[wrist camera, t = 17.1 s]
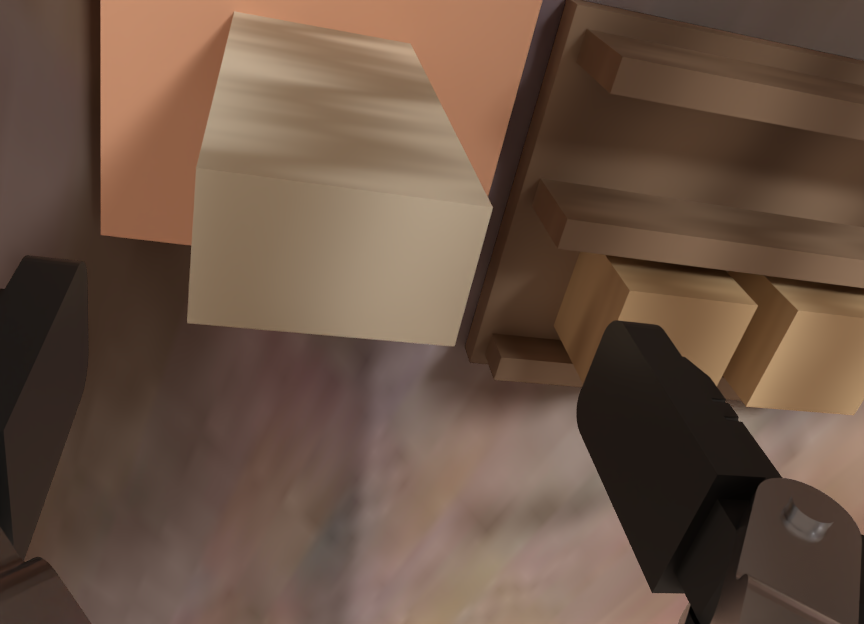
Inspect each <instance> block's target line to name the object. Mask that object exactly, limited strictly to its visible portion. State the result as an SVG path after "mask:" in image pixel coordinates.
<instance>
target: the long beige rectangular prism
mask: <svg viewBox="0 0 864 624" xmlns="http://www.w3.org/2000/svg"><path fill="white" fill-rule="evenodd" d="M492 209H493V207H492V205H491V203H490V201H489V199H488V197H487V195H486V193H485V191H484V189H483V187H482V185H481V183H480V181H479V179H478V177H477V175H476V173H475V171H474V169H473V167H472V165H471V163H470V161H469V159H468V157H467V155H466V153H465V151H464V149H463V147H462V145H461V143H460V141H459V139H458V137H457V135H456V133H455V131H454V129H453V127H452V125H451V123H450V121H449V119H448V117H447V115H446V113H445V111H444V109H443V107H442V105H441V103H440V101H439V99H438V97H437V95H436V93H435V91H434V89H433V87H432V85H431V83H430V81H429V79H428V77H427V75H426V73H425V71H424V69H423V67H422V65H421V63H420V61H419V59H418V57H417V55H416V53H415V51H414V49H413V47H412V45H411V44H410V43H404V42H399V41H393V40H388V39H383V38H377V37H372V36H366V35H361V34H355V33H350V32H344V31H339V30H333V29H328V28H322V27H317V26H312V25H306V24H301V23H295V22H290V21H284V20H279V19H273V18H268V17H262V16H257V15H251V14H246V13H241V12H235V11H234V15H233V19H232V23H231V27H230V31H229V35H228V39H227V43H226V48H225V52H224V56H223V60H222V64H221V68H220V72H219V76H218V80H217V84H216V88H215V93H214V97H213V101H212V105H211V109H210V113H209V117H208V121H207V125H206V129H205V134H204V138H203V142H202V146H201V150H200V154H199V158H198V162H197V166H196V179H195V195H194V212H193V229H192V246H191V262H190V279H189V296H188V313H187V323H191V324H203V325H214V326H226V327H237V328H249V329H260V330H271V331H283V332H294V333H306V334H317V335H329V336H340V337H351V338H363V339H374V340H386V341H397V342H409V343H420V344H431V345H443V346H455V343H456V339H457V336H458V332H459V328H460V325H461V321H462V317H463V314H464V310H465V307H466V303H467V299H468V296H469V292H470V289H471V285H472V281H473V278H474V274H475V271H476V267H477V263H478V260H479V256H480V252H481V249H482V245H483V242H484V238H485V234H486V231H487V227H488V224H489V220H490V216H491V213H492Z"/></svg>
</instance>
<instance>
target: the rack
mask: <svg viewBox="0 0 864 624" xmlns="http://www.w3.org/2000/svg"><path fill="white" fill-rule="evenodd" d="M580 252H587V253H595V254H603V255H611V256H618V257H626V258H634V259H642V260H649V261H657V262H665V263H673V264H680V265H688V266H696V267H704V268H711V269H719V270H725V271H726V272H727V273H729V271H735V272H742V273H750V274H758V275H766V276H773V277H781V278H789V279H797V280H804V281H812V282H820V283H828V284H835V285H843V286H851V287H859V288H864V61H861V60H857V59H852V58H847V57H843V56H838V55H834V54H829V53H824V52H820V51H815V50H810V49H806V48H801V47H796V46H792V45H787V44H782V43H778V42H773V41H768V40H764V39H759V38H755V37H750V36H745V35H741V34H736V33H731V32H727V31H722V30H717V29H713V28H708V27H703V26H699V25H694V24H689V23H685V22H680V21H675V20H671V19H666V18H662V17H657V16H652V15H648V14H643V13H638V12H634V11H629V10H624V9H620V8H615V7H610V6H606V5H601V4H596V3H592V2H587V1H582V0H566V4H565V7H564V10H563V14H562V17H561V21H560V24H559V27H558V31H557V34H556V38H555V41H554V45H553V48H552V51H551V55H550V58H549V62H548V65H547V68H546V72H545V75H544V79H543V82H542V86H541V89H540V92H539V96H538V99H537V103H536V106H535V109H534V113H533V116H532V120H531V123H530V127H529V130H528V133H527V137H526V140H525V144H524V147H523V150H522V154H521V157H520V161H519V164H518V168H517V171H516V174H515V178H514V181H513V185H512V188H511V192H510V195H509V198H508V202H507V205H506V209H505V212H504V215H503V219H502V222H501V226H500V229H499V233H498V236H497V239H496V243H495V246H494V250H493V253H492V256H491V260H490V263H489V267H488V270H487V274H486V277H485V280H484V284H483V287H482V291H481V294H480V297H479V301H478V304H477V308H476V311H475V315H474V318H473V321H472V325H471V328H470V332H469V335H468V339H467V342H466V345H465V349H466V352H467V355H468V358H469V361H470V363H479V364H489V367H490V370H491V373H492V376H493V378H494V380H501V381H513V382H525V383H537V384H549V385H561V386H573V387H582V386H583V383H582V381H581V379H580V377H579V375H578V373H577V371H576V369H575V367H574V365H573V363H572V361H571V359H570V357H569V355H568V353H567V351H566V349H565V347H564V345H563V343H562V341H561V339H560V337H559V336H558V334H557V332H556V330H555V328H554V323H555V320H556V318H557V315H558V312H559V309H560V306H561V304H562V301H563V298H564V295H565V292H566V290H567V287H568V284H569V281H570V278H571V276H572V273H573V270H574V267H575V264H576V262H577V259H578V256H579V253H580ZM717 388H718V389H719V390H720V392H721V393H722V395H723V396H724V397H725V399H731V400H741V399H740V398H739V397H738V395H737V394H736V393H735V391H734V390H733V389H732V387H731V386H730V385H729V383H728V382H727V381H726V379H725V378H724V377H723V375H722V377H721V379H720V381H719V383H718V385H717Z"/></svg>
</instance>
